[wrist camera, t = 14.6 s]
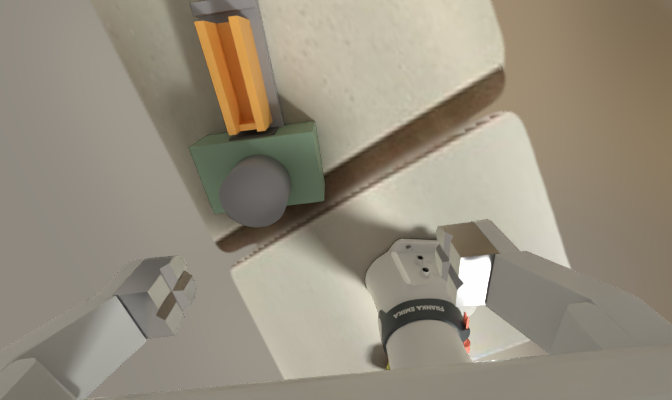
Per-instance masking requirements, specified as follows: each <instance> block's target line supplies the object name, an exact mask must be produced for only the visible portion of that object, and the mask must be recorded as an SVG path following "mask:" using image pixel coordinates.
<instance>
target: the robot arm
mask: <svg viewBox="0 0 672 400" xmlns="http://www.w3.org/2000/svg"><path fill="white" fill-rule="evenodd" d="M436 238H437V240H420V239H398V240H397V241H395V242H394V244H393V245H392V246H391V248H390V249H389V250H388V251H387V252H386V253H385V254H383V255H382V256H380V257H379V258H377V259H376V260H375V261H374V262H373V263H372V264H371V266H370V267H369V269H368V271H367V273H366V277H365V283H366V287H367V289H368V291H369V293H370V295H371V296H372V298H373V301H374V303H375V306H376V309H377V312H378V324H379V331H380V336H381V341H382V343H383V348H384V351H385V353H386V355H387V356H388V359H389V365H390V370H383V371H372V372H362V373H351V374H341V375H330V376H320V377H309V378H298V379H288V380H277V381H267V382H257V383H247V384H235V385H226V386H214V387H204V388H193V389H183V390H171V391H161V392H151V393H139V394H129V395H118V396H108V397H97V398H86V397H87V396H88V395H89V394H90V393H91V392H92V391H93V390H94V389H95V388H97V387H98V386H99V385H100V384H101V383H102V382H103V381H104V380H105V379H106V378H107V377H108V376H109V375H111V374H112V373H113V372H114V371H115V370H116V369H117V368H118V367H119V366H120V365H121V364H122V363H123V362H124V361H125V360H126V359H128V358H129V357H130V356H131V355H132V354H133V353H134V352H135V351H136V350H137V349H138V348H139V347H141V346H142V345H143V344H144V343H145V342H146V341H147V340H146V339H152V338H160V337H168V336H174V335H175V334H176V332H177V330H178V328H179V326H180V324H181V323H182V321H183V319H184V317H185V316H184V313H183V311H184V310H185V309H187V308H188V307H189V306H190V305H191V304H192V302H193V300H194V298H195V294H196V284H195V280H194V278H193V276H192V275H191V274H189V273H188V272H186V271H185V270H186V267H187V264H186V262H185V260H184V258H183V257H181V256H178V255H177V256H166V257H155V258H145V259H136V260H132V261H129V262H128V263H127V264H126V265H125V266H124V267H123V268H122V269H121V270H120V271H119V272H118V273H117V274H116V275H115V276H114V277H113V278H112V279H111V280H110V282H108V283H107V284H106V285H105V287H104V288H103V289H102V290H101V291H100V292H99V293H98V294H97V295H96V296H95V297H94V298H91V299H87V300H85V301H84V302H82V303H80V304H78V305H77V306H75V307H73V308H71V309H70V310H68V311H66V312H65V313H63V314H61V315H59V316H58V317H56V318H54V319H52V320H51V321H49V322H47V323H45V324H44V325H42V326H40V327H38V328H37V329H35V330H33V331H32V332H30V333H28V334H26V335H25V336H23V337H21V338H20V339H18V340H16V341H14V342H12V343H11V344H9V345H7V346H6V347H4V348H2V349H0V400H672V324H671V323H669V322H668V321H667V320H666V319H664V318H663V317H662V316H660V315H659V314H658V313H657V312H656V311H654V310H653V309H652V308H650V307H649V306H648V305H647V304H646V303H644V302H643V301H642V300H641V299H639V298H638V297H637V296H635V295H633V294H630V293H628V292H625V291H623V290H620V289H618V288H616V287H613V286H611V285H608V284H606V283H603V282H601V281H599V280H596V279H593V278H591V277H589V276H586V275H584V274H581V273H579V272H577V271H574V270H572V269H569V268H567V267H564V266H562V265H559V264H557V263H554V262H552V261H550V260H547V259H545V258H542V257H540V256H537V255H535V254H532V253H530V252H528V251H522V252H521V251H520V250H519V249H518V248H517V247H516V246H515V245H514V244H513V243H512V242H511V241H510V240H509V239H508V238H507V237H506V236H505V235H504V233H503V232H502V231H501V230H500V229H499V228H498V227H497V226H496V225H495V224H494V223H493V222H492V221H491V220H488V219H485V220H478V221H471V222H467V223H459V224H451V225H443V226H438V227H437V230H436ZM407 245H409V246H408V247H406V246H407ZM477 305H486V307H488V308H489V309H490V310H492V311H493V312H494V313H496V314H497V315H498V316H500V317H501V318H502V319H504V320H505V321H506V322H508V323H509V324H510V325H512V326H513V327H514V328H516V329H517V330H518V331H520V332H521V333H522V334H524V335H525V336H526V337H528V338H529V339H530V340H532V341H533V342H534V343H536V344H537V345H538V346H540V347H541V348H542V349H544V350H545V351H546V352H548V353H549V355H542V356H531V357H521V358H510V359H500V360H489V361H478V362H472V361H471V359H470V357H469V355H468V353H469V350H470V341H469V339H468V337H469V335H470V329H469V327H468V326H469V318H468V317H469V316H470V315H471V314H472V313H473V312H474V311H475V309H476V307H477ZM85 398H86V399H85Z"/></svg>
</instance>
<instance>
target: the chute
mask: <svg viewBox="0 0 672 400" xmlns="http://www.w3.org/2000/svg"><path fill="white" fill-rule="evenodd" d="M228 19H229V22H224V23H218V24H217V23H212V22H208V21H197V22H194V24H195V27H196V30H197V33H198V37H199V40H200V43H201V46H202V50H203V53H204V56H205V59H206V63H207V66H208V69H209V72H210V76H211V79H212V82H213V85H214V89H215V92H216V95H217V98H218V102H219V105H220V108H221V111H222V115H223V118H224V121H225V124H226V128H227V131H228V134H229V135H236V134H238V133H239V132H240V131H246V130H254V129H257V132H259V131H266V129H267V128H268V127H269V126H270V124H271V123H272V122H273V121H272V116H271V112H270V108H269V103H268V99H267V94H266V90H265V86H264V81H263V77H262V72H261V68H260V64H259V59H258V55H257V50H256V46H255V42H254V37H253V33H252V29H251V24H250V20H248V19H246V18H243V17H240V16H230V17H228Z"/></svg>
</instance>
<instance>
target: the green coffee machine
mask: <svg viewBox="0 0 672 400" xmlns="http://www.w3.org/2000/svg"><path fill="white" fill-rule="evenodd" d="M190 7H191V10H192V13H193V16H196V17H199V20H200V21H208V22H212V23H217V24H218V23H224V22H229V19H228V17H230V16H240V17H243V18H246V19H248V20H250V24H251V29H252V33H253V37H254V42H255V46H256V50H257V55H258V59H259V64H260V68H261V72H262V77H263V81H264V86H265V90H266V94H267V99H268V103H269V108H270V112H271V116H272V121H273V122H272V123H271V124H270V126H269V127H268V128H267V129H266V131H259V132H257V129H254V130H246V131H240V132H239V133H238V134H236V135H229V134H228V133H220V134H212V135H207V136H205V137H204V138H202V139H201V140H199V141H198V142H197V143H195V144H194V145H192V146H191V147H189V149H190V152H191V155H192V157H193V160H194V162H195V165H196V168H197V170H198V173H199V175H200V178H201V181H202V183H203V186H204V188H205V191H206V194H207V196H208V199H209V201H210V204H211V207H212V209H213V212H214V214H222V213H227V214H228V215H229V216H230V217H231V218H232V219H233V220H235V221H236V222H238V223H240V224H242V225H245V226H248V227H266V226H269V225H271V224H273V223H275V222H276V221H278V220H279V219H280V218H281V216H282V215H283V213H284V211H285V208H286V206H288V205H296V204H305V203H313V202H321V201H324V191H325V182H324V175H323V169H322V163H321V156H320V150H319V144H318V138H317V131H316V125H315V121H311V122H303V123H296V124H288V125H284V122H283V117H282V113H281V108H280V103H279V98H278V94H277V89H276V84H275V79H274V75H273V70H272V65H271V61H270V56H269V51H268V46H267V42H266V37H265V32H264V27H263V23H262V18H261V13H260V9H259V4H258V0H206V1H200V2H193V3H190Z"/></svg>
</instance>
